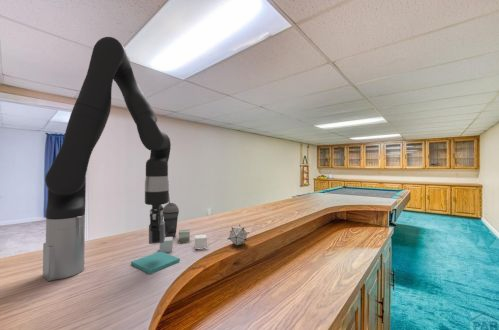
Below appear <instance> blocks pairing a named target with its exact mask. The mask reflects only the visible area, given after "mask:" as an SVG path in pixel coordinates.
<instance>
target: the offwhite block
mask: <svg viewBox="0 0 499 330" xmlns="http://www.w3.org/2000/svg"><path fill="white" fill-rule="evenodd" d="M207 241H208V238H207V234H195V235H194V250H195V249H198V248H204V247H207V243H208V242H207Z"/></svg>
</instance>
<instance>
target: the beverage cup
mask: <svg viewBox="0 0 499 330" xmlns="http://www.w3.org/2000/svg"><path fill="white" fill-rule="evenodd" d="M163 208H164V212H163V221H165V237H173V239H174V238H176V236H177V230H178V229H177V228H178V217H179V212H180V210H179V207H178V205H177V204H176V203H173V202H171V199H170V197H169V202H168V203H166V204H164V206H163Z"/></svg>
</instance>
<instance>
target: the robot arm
mask: <svg viewBox="0 0 499 330" xmlns="http://www.w3.org/2000/svg"><path fill="white" fill-rule="evenodd" d="M88 65H89V66H88V69H87V72H86V76H85V78H84V80H83V83H82V85H81V88H80V91H79V93H78V96H77V98H76V100H75V102H74V105H73V107H72V111H71V113H70V116H69V119H68V122H67V124H66V125H67V126H66V128H65V133H64V138H63V141H62V144H61V146H60V148H59V151H58V153H57V155H56V157H55V158H54V160H53V163H52V164H51V166H50V168H49V169H48V170H47V172H46V174H45V178H44V181H45V185H46V187H47V188H48V189H47V204H46V209H45V242H44V243H43V244H42V276H43V277H44V278H45V279H46V280H47V281H48V282H51V281H55V280H62V279H66V278H69V277H70V278H71V277H73V276H75V275H77V274H80V273H81V272H83V271H84V269H85V263H86V262H85V250H86V249H85V245H86V244H85V241H86V235H85V234H86V203H87V202H86V197H87V196H86V193H87V191H86V190H87V171H88V166H89V162H90V159H91V155H92V154H93V150H94V149H95V147H96V145H97V144H98V142H99V140H100V138H101V136H102V134H103V132H104V130H105V128H106V125H107V122H108V120H109V116H110V114H111V109H112V87H113V81H114V82H115V84H116V85H117V86H118V88H119V90H120V92H121V94H122V97H123V100H124V102H125V106H126V107H127V110H128V112H129V113H130V116H131V118H132V120H133V122H134V123H135V125H136V129H137V132H138V137H139V139H140V142H141V143H142V144H143V146H144V148H145V149H147V150H149V151H150V157H149V159H147V160H146V162H145V179H144V204H145V205H147V206H151V209H150V210H149V221H150V224H149V225H150V226H151V228H150V230H151V231H152V242H153V243H154V244H157V243H156V242H159V241H160V224H161V223H162V222H163V221H164V217H163V212H164V206H163V205H167V204H168V203H169V198H170V193H169V192H170V191H169V190H170V187H169V186H170V184H169V164H168V163H169V159H170V154H171V153H170V152H171V145H172V144H171V138H170V136H169V135H168V134H166V133H165V132H162V131H161V130H160V128H159V126H158V124H157V122H158V119H157V116H156V114H155V111H154V109H153V108H152V106H151V104H150V102H149V101H148V98H147V97H146V95H145V93H144V92H143V90H142V89H141V87H140V86H139V83H138V82H137V81H138V80H137V78H136V75H135V73H134V69H133V67H132V62H131V59H130V56H129V55H128V53H127V50H126V49H125V47H124V44H122V43H121V42H120V40H118V39H116V38H115V37H114V36H104V37H102V38H100V39H98V40H97V42H96V43H95V44H94V45H93V49H92V51H91V55H90V61H89V64H88ZM154 224H157V227H154Z"/></svg>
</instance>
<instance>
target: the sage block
mask: <svg viewBox="0 0 499 330" xmlns="http://www.w3.org/2000/svg"><path fill="white" fill-rule="evenodd" d="M190 232H191V231H190V228H181V229H178V243H179V242H181V243H189V242H188V241H190V235H191V233H190Z"/></svg>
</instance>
